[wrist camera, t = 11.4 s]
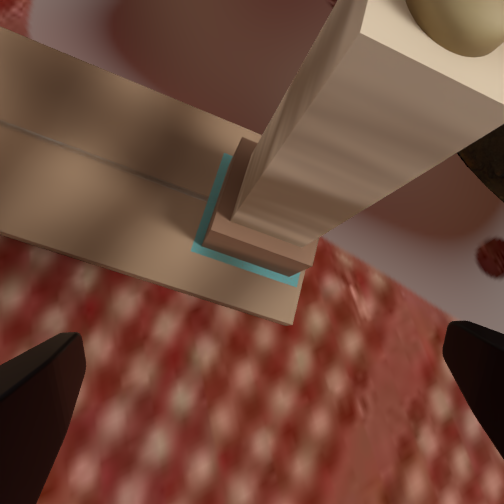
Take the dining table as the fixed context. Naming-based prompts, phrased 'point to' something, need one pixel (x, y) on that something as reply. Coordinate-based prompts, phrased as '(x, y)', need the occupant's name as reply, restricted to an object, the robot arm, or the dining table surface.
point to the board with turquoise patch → (122, 178)
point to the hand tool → (487, 160)
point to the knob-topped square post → (361, 123)
